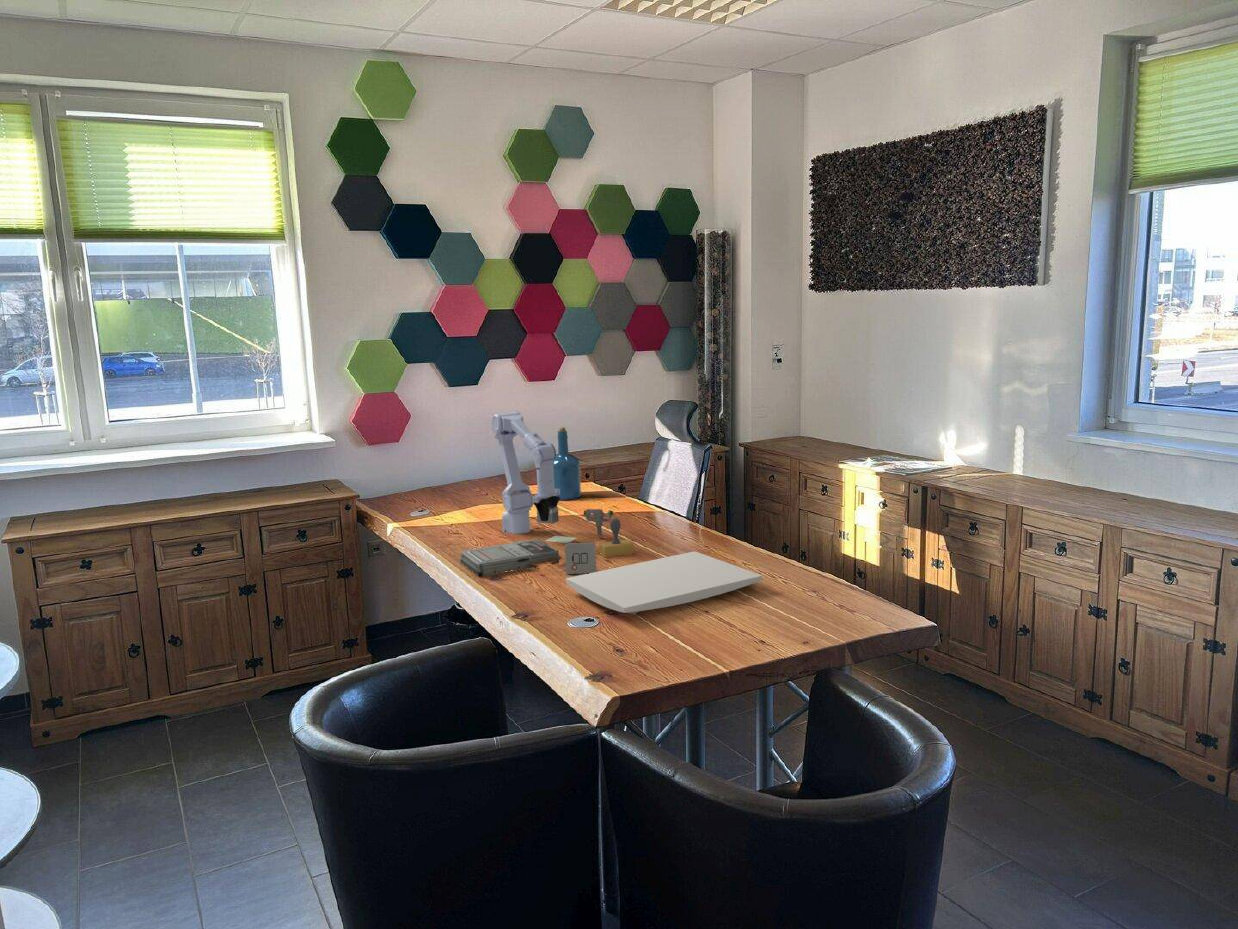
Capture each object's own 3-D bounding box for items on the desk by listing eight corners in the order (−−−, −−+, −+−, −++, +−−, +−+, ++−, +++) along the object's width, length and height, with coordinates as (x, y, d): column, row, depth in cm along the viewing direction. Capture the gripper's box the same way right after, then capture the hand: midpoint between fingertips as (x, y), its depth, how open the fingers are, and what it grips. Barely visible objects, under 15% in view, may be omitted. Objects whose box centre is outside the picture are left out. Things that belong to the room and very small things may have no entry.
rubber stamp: (604, 558, 297) (603, 521, 295) (599, 553, 303) (597, 518, 301) (633, 554, 301) (632, 518, 298) (627, 550, 306) (626, 514, 304)
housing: (537, 522, 313) (536, 508, 312) (543, 519, 317) (543, 505, 316) (552, 523, 310) (551, 509, 310) (558, 521, 314) (557, 506, 313)
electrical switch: (565, 575, 280) (564, 544, 280) (566, 571, 285) (565, 542, 285) (596, 574, 280) (595, 543, 279) (596, 570, 285) (595, 541, 285)
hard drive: (460, 564, 298) (459, 551, 297) (538, 551, 310) (537, 538, 309) (479, 578, 282) (478, 564, 281) (560, 564, 294) (559, 550, 293)
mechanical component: (613, 539, 320) (611, 511, 318) (584, 538, 322) (583, 510, 320) (614, 537, 323) (613, 509, 321) (586, 536, 325) (585, 509, 323)
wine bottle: (543, 499, 390) (539, 428, 385) (562, 493, 401) (559, 424, 395) (569, 502, 382) (565, 430, 377) (588, 496, 393) (585, 426, 388)
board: (625, 625, 236) (624, 608, 235) (566, 594, 263) (565, 578, 262) (762, 591, 258) (762, 575, 257) (695, 566, 285) (694, 551, 285)
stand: (544, 544, 316) (544, 540, 316) (555, 540, 322) (555, 535, 322) (567, 547, 312) (567, 543, 312) (577, 542, 318) (577, 537, 318)
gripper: (544, 484, 303) (546, 525, 305) (566, 476, 316) (568, 515, 318) (526, 483, 306) (528, 523, 309) (549, 475, 319) (551, 514, 321)
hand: (547, 519), depth 314 cm, fingers closed on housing, 4 cm apart
